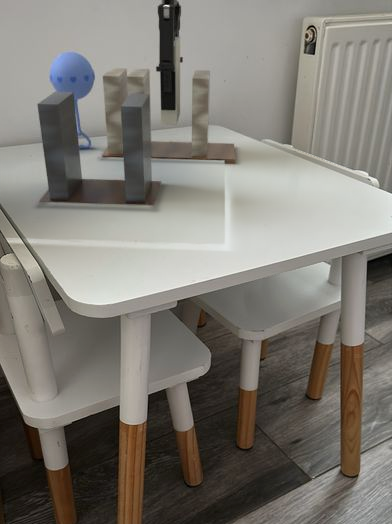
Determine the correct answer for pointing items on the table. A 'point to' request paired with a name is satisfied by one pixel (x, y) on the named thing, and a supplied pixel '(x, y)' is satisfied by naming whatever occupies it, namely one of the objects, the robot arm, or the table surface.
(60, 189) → the grey rack
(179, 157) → the beige marbled rack
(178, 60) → the white book
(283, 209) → the table surface
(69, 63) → the baby rattle
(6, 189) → the table surface
